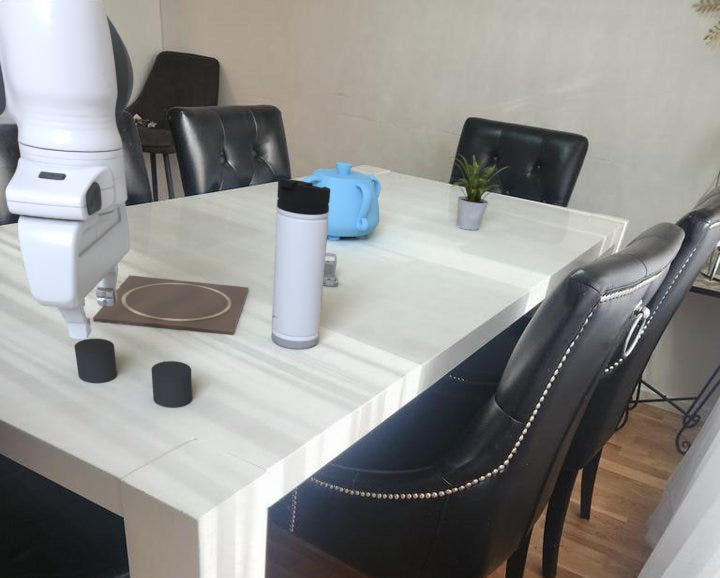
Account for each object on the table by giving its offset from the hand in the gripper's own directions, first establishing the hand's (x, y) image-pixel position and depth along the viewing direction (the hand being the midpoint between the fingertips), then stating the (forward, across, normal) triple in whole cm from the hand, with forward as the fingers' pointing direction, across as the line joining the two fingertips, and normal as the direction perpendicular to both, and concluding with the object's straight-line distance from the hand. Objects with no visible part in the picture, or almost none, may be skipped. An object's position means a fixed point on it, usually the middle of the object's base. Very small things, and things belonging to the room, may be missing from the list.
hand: (94, 319), depth 68 cm
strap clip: (+7, -43, +25) cm, 50 cm away
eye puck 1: (+6, 0, 0) cm, 6 cm away
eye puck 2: (+6, +4, +8) cm, 11 cm away
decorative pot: (+7, -74, +27) cm, 79 cm away
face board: (+6, -24, +4) cm, 25 cm away
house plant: (+7, -94, +57) cm, 110 cm away
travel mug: (+7, -15, +21) cm, 26 cm away
